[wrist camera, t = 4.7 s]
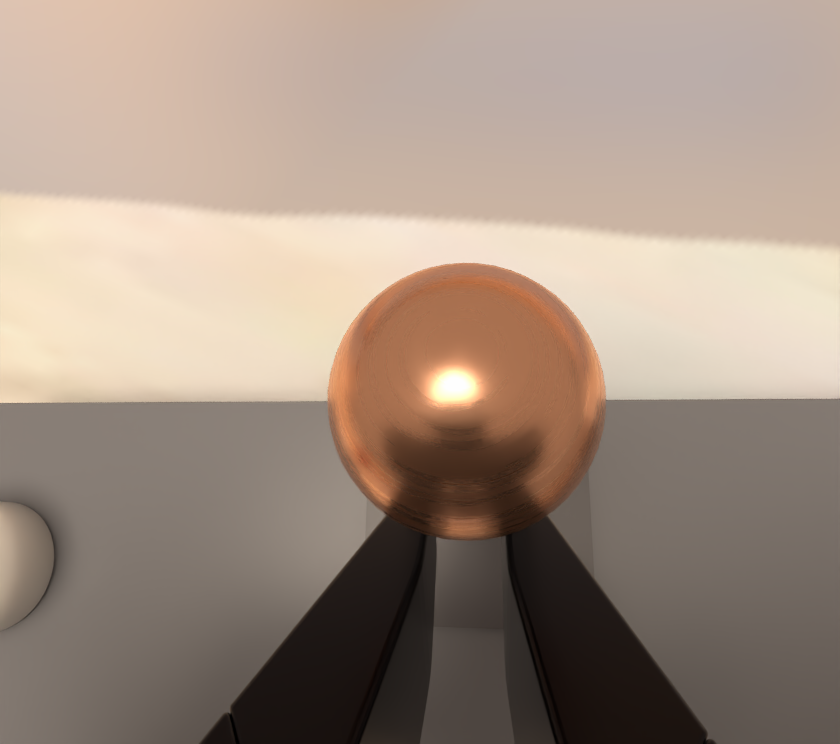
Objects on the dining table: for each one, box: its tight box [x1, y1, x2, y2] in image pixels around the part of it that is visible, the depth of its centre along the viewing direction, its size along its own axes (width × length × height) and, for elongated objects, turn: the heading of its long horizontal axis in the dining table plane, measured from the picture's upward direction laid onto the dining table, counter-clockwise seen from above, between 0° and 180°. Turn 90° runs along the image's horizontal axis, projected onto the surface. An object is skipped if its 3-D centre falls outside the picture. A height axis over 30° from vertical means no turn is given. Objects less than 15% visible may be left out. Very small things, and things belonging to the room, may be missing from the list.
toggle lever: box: [328, 263, 606, 541], centre depth 8 cm, size 2×2×9 cm
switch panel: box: [0, 399, 840, 744], centre depth 15 cm, size 8×28×4 cm, turn 90°
